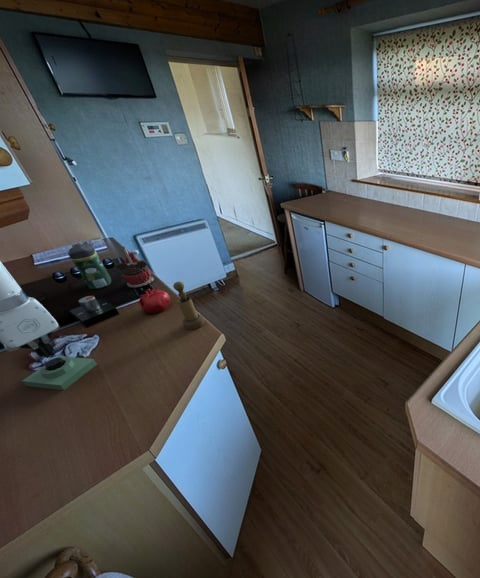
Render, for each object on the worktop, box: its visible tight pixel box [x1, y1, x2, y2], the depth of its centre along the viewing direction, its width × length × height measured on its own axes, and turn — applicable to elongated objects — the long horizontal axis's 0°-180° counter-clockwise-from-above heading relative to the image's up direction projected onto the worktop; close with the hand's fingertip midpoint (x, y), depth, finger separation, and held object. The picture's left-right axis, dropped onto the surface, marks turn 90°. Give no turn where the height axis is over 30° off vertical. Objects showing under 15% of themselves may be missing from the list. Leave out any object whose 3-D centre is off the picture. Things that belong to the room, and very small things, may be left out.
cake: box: [115, 246, 155, 289], centre depth 128 cm, size 11×9×18 cm
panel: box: [69, 298, 120, 329], centre depth 111 cm, size 12×10×3 cm
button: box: [43, 357, 65, 371], centre depth 85 cm, size 4×4×2 cm
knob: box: [78, 295, 100, 312], centre depth 109 cm, size 4×4×5 cm
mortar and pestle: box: [172, 281, 205, 331], centre depth 103 cm, size 7×6×18 cm
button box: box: [21, 355, 98, 391], centre depth 86 cm, size 12×10×4 cm
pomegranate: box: [138, 288, 171, 314], centre depth 114 cm, size 10×10×9 cm
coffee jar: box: [67, 242, 112, 290], centre depth 126 cm, size 10×8×19 cm
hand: (48, 355), depth 83 cm, fingers closed
